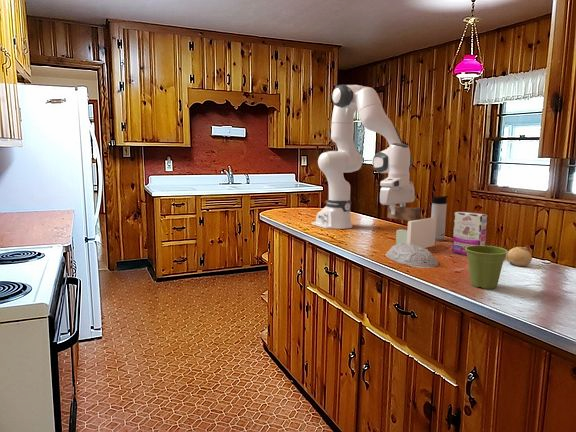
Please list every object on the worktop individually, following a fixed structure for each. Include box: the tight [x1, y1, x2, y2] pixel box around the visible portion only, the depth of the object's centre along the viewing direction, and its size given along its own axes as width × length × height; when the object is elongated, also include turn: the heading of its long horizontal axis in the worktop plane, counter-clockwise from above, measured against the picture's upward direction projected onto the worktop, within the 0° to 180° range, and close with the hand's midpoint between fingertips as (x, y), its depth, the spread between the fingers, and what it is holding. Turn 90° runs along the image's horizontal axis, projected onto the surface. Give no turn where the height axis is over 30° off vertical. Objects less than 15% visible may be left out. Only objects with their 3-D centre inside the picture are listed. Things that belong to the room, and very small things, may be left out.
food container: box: [385, 243, 439, 269], centre depth 164 cm, size 16×25×7 cm, turn 23°
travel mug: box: [430, 195, 449, 242], centre depth 198 cm, size 6×7×20 cm
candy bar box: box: [451, 211, 488, 257], centre depth 171 cm, size 11×5×16 cm, turn 40°
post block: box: [395, 217, 437, 249], centre depth 184 cm, size 9×18×12 cm, turn 130°
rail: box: [386, 205, 422, 222], centre depth 188 cm, size 14×4×5 cm, turn 40°
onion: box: [505, 246, 533, 267], centre depth 157 cm, size 8×8×7 cm
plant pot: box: [465, 245, 509, 290], centre depth 132 cm, size 12×12×11 cm
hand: (397, 213), depth 190 cm, fingers closed on rail, 4 cm apart
